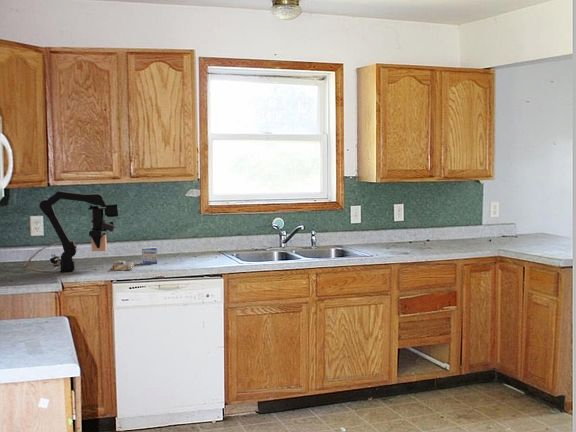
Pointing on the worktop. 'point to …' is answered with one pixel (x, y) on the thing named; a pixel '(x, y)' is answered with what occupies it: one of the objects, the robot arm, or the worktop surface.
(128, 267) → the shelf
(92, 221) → the robot arm
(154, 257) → the medicine box
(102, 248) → the box
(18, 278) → the worktop surface
